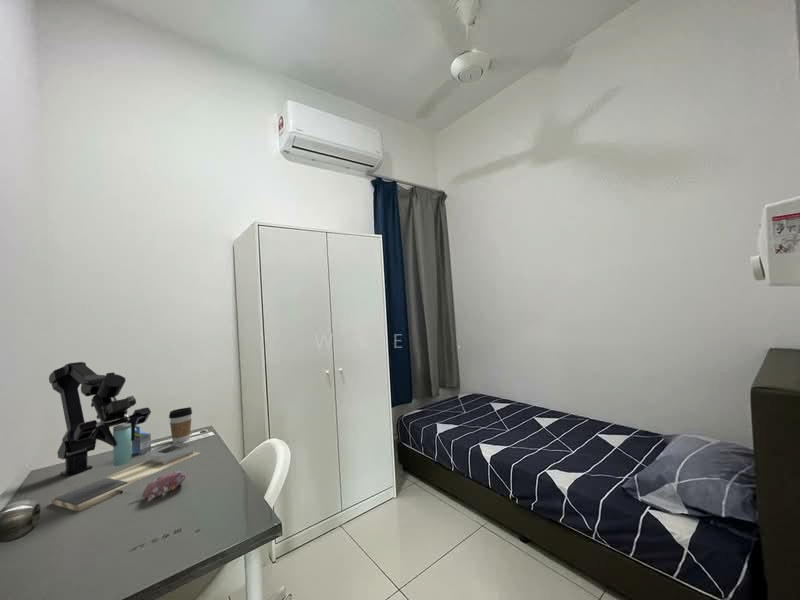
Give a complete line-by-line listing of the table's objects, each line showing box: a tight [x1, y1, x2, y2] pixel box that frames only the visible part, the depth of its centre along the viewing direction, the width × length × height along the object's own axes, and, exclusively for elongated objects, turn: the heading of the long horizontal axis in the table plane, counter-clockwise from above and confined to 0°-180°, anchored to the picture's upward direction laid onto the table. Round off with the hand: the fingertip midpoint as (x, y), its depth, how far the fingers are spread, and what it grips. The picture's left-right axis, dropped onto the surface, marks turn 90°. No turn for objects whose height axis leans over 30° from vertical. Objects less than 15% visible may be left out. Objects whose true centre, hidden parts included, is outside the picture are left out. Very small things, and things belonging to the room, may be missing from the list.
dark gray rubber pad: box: [53, 477, 127, 505], centre depth 94 cm, size 12×12×1 cm
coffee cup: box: [168, 406, 193, 444], centre depth 134 cm, size 8×8×15 cm
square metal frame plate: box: [143, 442, 195, 466], centre depth 116 cm, size 11×11×3 cm
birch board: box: [51, 451, 200, 513], centre depth 104 cm, size 15×35×2 cm, turn 159°
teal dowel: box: [112, 423, 133, 467], centre depth 101 cm, size 4×4×12 cm
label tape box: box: [131, 425, 152, 455], centre depth 125 cm, size 9×4×12 cm, turn 59°
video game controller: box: [142, 470, 186, 499], centre depth 92 cm, size 10×5×7 cm, turn 143°
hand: (124, 442), depth 100 cm, fingers closed on teal dowel, 4 cm apart
